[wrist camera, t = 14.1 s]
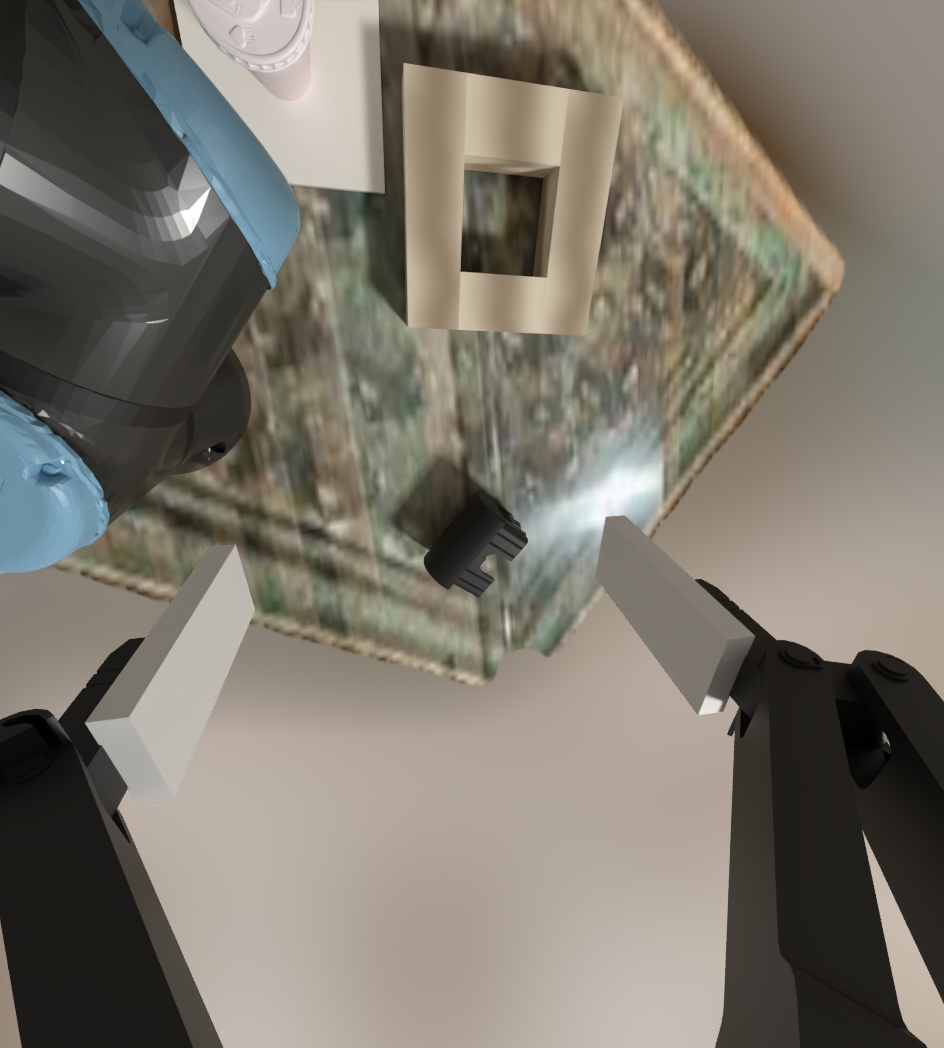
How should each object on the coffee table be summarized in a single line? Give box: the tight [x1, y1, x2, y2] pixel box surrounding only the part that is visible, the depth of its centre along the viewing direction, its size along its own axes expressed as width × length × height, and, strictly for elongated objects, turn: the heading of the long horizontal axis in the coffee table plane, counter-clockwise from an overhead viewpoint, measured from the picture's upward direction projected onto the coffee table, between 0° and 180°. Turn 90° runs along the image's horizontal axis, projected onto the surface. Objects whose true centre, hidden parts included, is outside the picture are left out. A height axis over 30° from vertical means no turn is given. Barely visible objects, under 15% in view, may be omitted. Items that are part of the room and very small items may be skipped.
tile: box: [174, 0, 385, 195], centre depth 30 cm, size 13×13×1 cm
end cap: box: [424, 493, 528, 597], centre depth 48 cm, size 10×7×7 cm
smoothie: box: [187, 0, 314, 102], centre depth 24 cm, size 6×6×14 cm
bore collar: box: [402, 63, 624, 335], centre depth 35 cm, size 16×16×4 cm
